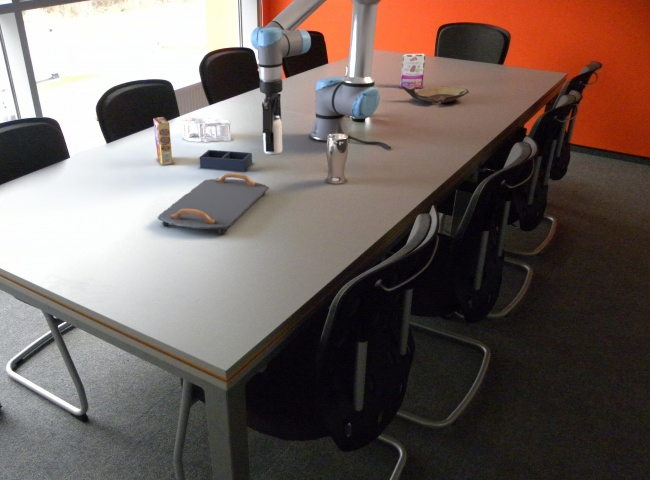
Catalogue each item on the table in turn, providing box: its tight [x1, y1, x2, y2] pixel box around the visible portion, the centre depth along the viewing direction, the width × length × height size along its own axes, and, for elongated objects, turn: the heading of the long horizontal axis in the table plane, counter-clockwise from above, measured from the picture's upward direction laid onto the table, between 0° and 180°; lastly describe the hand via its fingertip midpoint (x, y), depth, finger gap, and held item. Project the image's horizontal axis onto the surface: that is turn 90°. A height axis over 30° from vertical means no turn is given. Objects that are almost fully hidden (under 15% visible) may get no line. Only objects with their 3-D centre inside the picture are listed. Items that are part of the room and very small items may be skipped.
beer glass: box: [325, 133, 349, 185], centre depth 200 cm, size 7×7×15 cm
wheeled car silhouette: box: [181, 117, 232, 143], centre depth 250 cm, size 20×11×7 cm, turn 66°
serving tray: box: [157, 172, 270, 236], centre depth 184 cm, size 39×23×6 cm, turn 158°
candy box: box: [153, 116, 173, 166], centre depth 224 cm, size 9×4×15 cm, turn 20°
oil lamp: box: [400, 85, 470, 104], centre depth 291 cm, size 22×30×8 cm
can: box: [262, 115, 283, 156], centre depth 210 cm, size 6×6×12 cm
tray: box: [198, 149, 253, 173], centre depth 220 cm, size 17×9×4 cm, turn 71°
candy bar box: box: [400, 53, 426, 89], centre depth 315 cm, size 11×5×16 cm, turn 80°
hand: (273, 147), depth 212 cm, fingers closed on can, 6 cm apart
